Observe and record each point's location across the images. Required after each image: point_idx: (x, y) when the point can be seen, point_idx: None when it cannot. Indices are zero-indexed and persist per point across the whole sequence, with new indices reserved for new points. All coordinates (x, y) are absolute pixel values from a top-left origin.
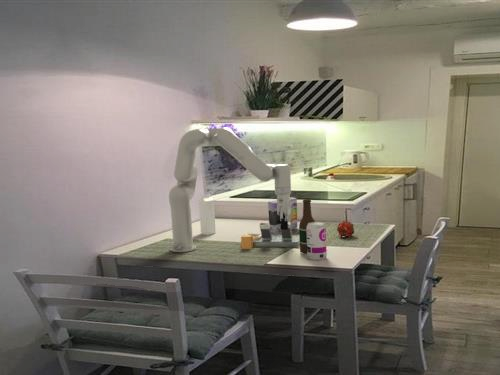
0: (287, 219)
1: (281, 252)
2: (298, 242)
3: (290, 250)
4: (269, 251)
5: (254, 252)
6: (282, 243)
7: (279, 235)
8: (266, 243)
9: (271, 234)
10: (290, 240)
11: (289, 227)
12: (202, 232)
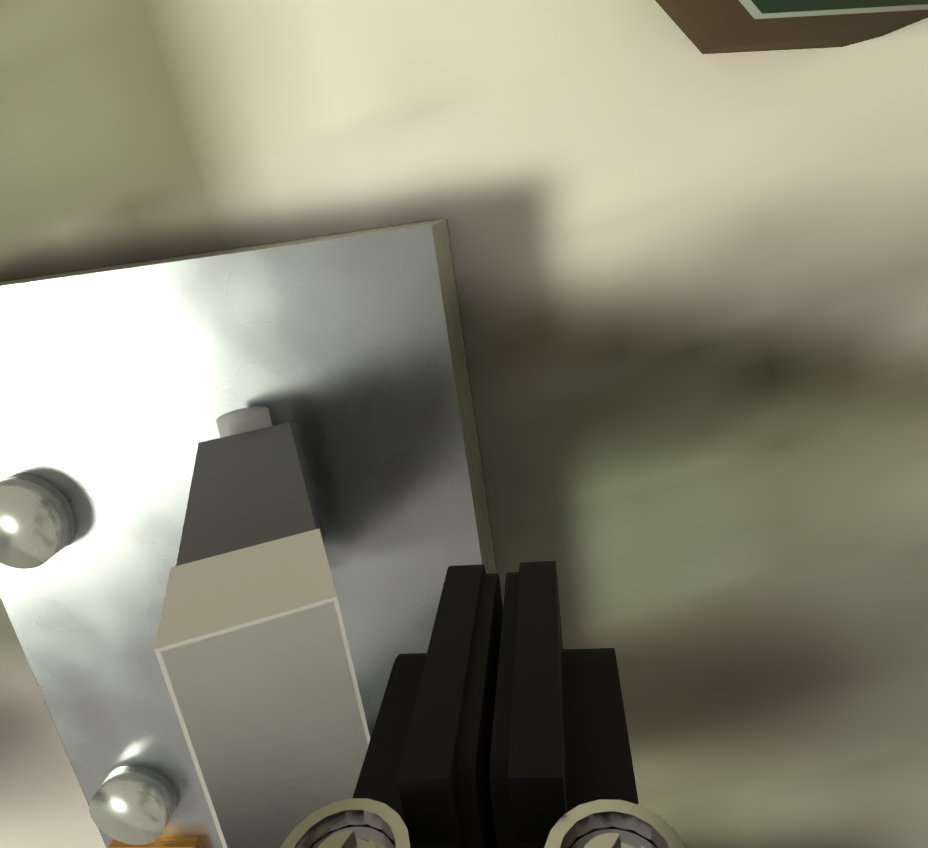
0: (293, 835)
1: (861, 406)
2: (358, 234)
3: (700, 290)
4: (800, 603)
5: (874, 775)
6: (478, 514)
7: (42, 682)
8: None
9: (109, 799)
10: (332, 415)
11: (322, 550)
12: None
